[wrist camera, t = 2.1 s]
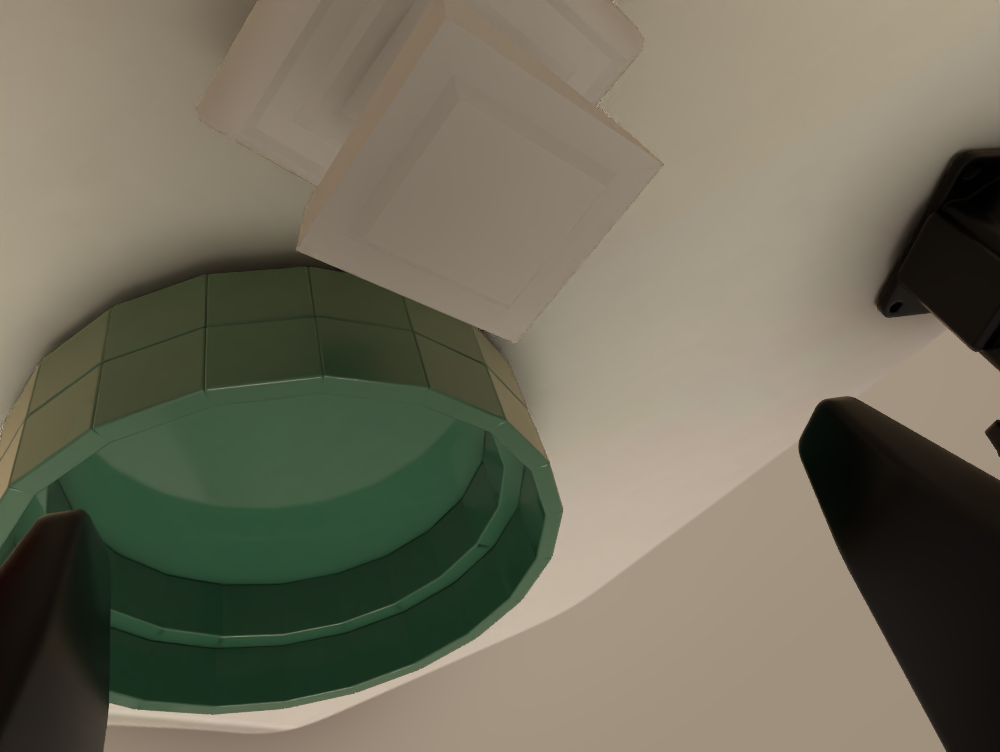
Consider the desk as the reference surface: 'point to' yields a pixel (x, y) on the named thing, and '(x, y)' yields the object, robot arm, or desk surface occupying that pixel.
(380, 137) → the stamp
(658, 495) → the desk surface
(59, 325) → the desk surface
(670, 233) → the desk surface
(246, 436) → the green bowl
